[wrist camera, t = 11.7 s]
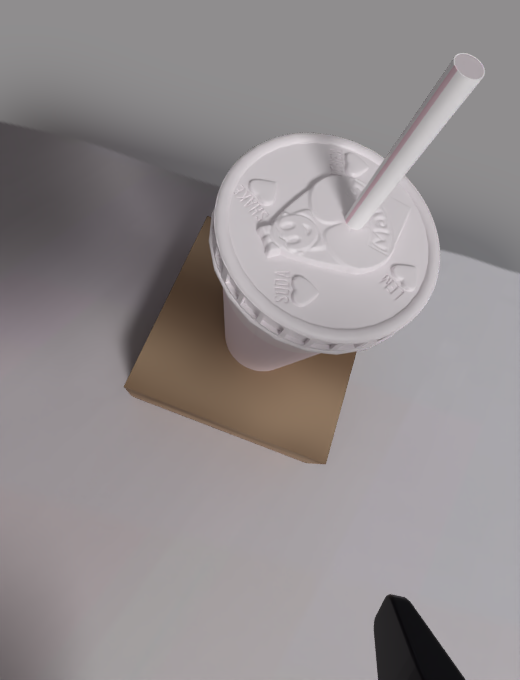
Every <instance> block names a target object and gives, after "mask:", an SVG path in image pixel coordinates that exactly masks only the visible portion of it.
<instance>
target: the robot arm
mask: <svg viewBox="0 0 520 680" xmlns="http://www.w3.org/2000/svg"><path fill="white" fill-rule="evenodd" d="M374 638H375V649H376V661H377V672H378V680H465V678H464V677H463V675H462V674H461V673H460V671H459V670H458V668H457V667H456V666H455V664H454V663H453V661H452V660H451V659H450V657H449V656H448V654H447V653H446V652H445V650H444V649H443V647H442V646H441V644H440V643H439V642H438V640H437V639H436V637H435V636H434V635H433V633H432V632H431V630H430V629H429V628H428V626H427V625H426V623H425V622H424V620H423V619H422V618H421V616H420V615H419V613H418V612H417V611H416V609H415V608H414V606H413V605H412V604H411V602H410V601H409V600H408V599H407V598H405V597H401V596H396V595H391V594H389V595H387V596H386V597H385V599H384V601H383V603H382V605H381V607H380V609H379V611H378V613H377V615H376V617H375V621H374Z"/></svg>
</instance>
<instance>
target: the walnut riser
mask: <svg viewBox="0 0 520 680" xmlns="http://www.w3.org/2000/svg"><path fill="white" fill-rule="evenodd" d="M210 225H211V217H209V216H207V218H206V220H205V222H204V224H203V226H202V228H201V230H200V232H199V234H198V236H197V238H196V240H195V242H194V244H193V246H192V248H191V251H190V253H189V255H188V257H187V259H186V261H185V263H184V265H183V267H182V269H181V271H180V273H179V275H178V277H177V279H176V281H175V283H174V285H173V287H172V289H171V291H170V293H169V295H168V297H167V299H166V302H165V304H164V306H163V308H162V310H161V312H160V314H159V316H158V318H157V320H156V322H155V324H154V326H153V328H152V330H151V332H150V334H149V336H148V338H147V340H146V342H145V344H144V346H143V348H142V351H141V353H140V355H139V357H138V359H137V361H136V363H135V365H134V367H133V369H132V371H131V373H130V375H129V377H128V379H127V381H126V383H125V385H124V387H125V389H126V390H127V391H128V392H129V393H130V394H131V396H133V397H135V398H138V399H141V400H143V401H146V402H148V403H151V404H154V405H156V406H159V407H161V408H164V409H167V410H169V411H172V412H174V413H177V414H180V415H182V416H185V417H188V418H190V419H193V420H195V421H198V422H201V423H203V424H206V425H208V426H211V427H214V428H216V429H219V430H221V431H224V432H227V433H229V434H232V435H234V436H237V437H240V438H242V439H245V440H248V441H250V442H253V443H255V444H258V445H261V446H263V447H266V448H268V449H271V450H274V451H276V452H279V453H281V454H284V455H287V456H289V457H292V458H294V459H297V460H300V461H302V462H305V463H314V464H326V461H327V458H328V454H329V450H330V447H331V443H332V439H333V436H334V432H335V428H336V425H337V421H338V417H339V414H340V410H341V406H342V403H343V399H344V396H345V392H346V388H347V385H348V381H349V377H350V374H351V370H352V366H353V363H354V359H355V355H356V352H357V351H356V352H350V353H344V354H338V355H335V354H325V353H320V354H317V355H314V356H311V357H309V358H306V359H303V360H300V361H297V362H294V363H291V364H289V365H286V366H283V367H280V368H277V369H274V370H271V371H256V370H252V369H249V368H247V367H245V366H243V365H242V364H240V363H239V362H238V361H237V360H236V359H235V358H234V357H233V356H232V354H231V353H230V351H229V349H228V347H227V344H226V339H225V322H224V301H223V287H222V285H221V283H220V281H219V279H218V277H217V275H216V273H215V271H214V266H213V261H212V256H211V251H210V245H209V234H210Z"/></svg>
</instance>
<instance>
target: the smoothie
mask: <svg viewBox="0 0 520 680" xmlns="http://www.w3.org/2000/svg"><path fill="white" fill-rule="evenodd" d="M484 74H485V70H484V67H483V65H482V63H481V62H480V61H479V60H478V59H477V58H475V57H474V56H472V55H470V54H467V53H459V54H457V55H456V56H455V57H454V59H453V60H452V62H451V63H450V65H449V66H448V67H447V69H446V70H445V72H444V73H443V75H442V76H441V78H440V79H439V80H438V82H437V83H436V85H435V86H434V88H433V89H432V91H431V92H430V94H429V95H428V96H427V98H426V99H425V101H424V102H423V104H422V105H421V107H420V108H419V110H418V111H417V112H416V114H415V115H414V117H413V118H412V120H411V121H410V123H409V124H408V126H407V127H406V128H405V130H404V131H403V133H402V134H401V136H400V137H399V139H398V140H397V142H396V143H395V145H394V146H393V147H392V149H391V150H390V152H389V153H388V155H387V156H386V158H384V157H382V156H381V155H379V154H377V153H376V152H374V151H373V150H371V149H369V148H367V147H365V146H363V145H360V144H358V143H356V142H354V141H351V140H348V139H345V138H341V137H338V136H334V135H328V134H321V133H293V134H287V135H282V136H278V137H275V138H272V139H270V140H267V141H264V142H262V143H260V144H258V145H256V146H255V147H253V148H252V149H250V150H249V151H247V152H246V153H245V154H244V155H243V156H241V157H240V158H239V159H238V160H237V162H235V163H234V164H233V166H232V167H231V169H230V170H229V171H228V173H227V174H226V177H225V178H224V180H223V182H222V184H221V186H220V189H219V192H218V195H217V199H216V204H215V208H214V210H213V212H212V215H211V225H210V234H209V245H210V251H211V256H212V261H213V266H214V271H215V273H216V275H217V277H218V279H219V281H220V283H221V285H222V287H223V301H224V322H225V339H226V344H227V347H228V349H229V351H230V353H231V354H232V356H233V357H234V358H235V359H236V360H237V361H238V362H239V363H240V364H242V365H243V366H245V367H247V368H249V369H252V370H256V371H271V370H274V369H277V368H280V367H283V366H286V365H289V364H291V363H294V362H297V361H300V360H303V359H306V358H309V357H311V356H314V355H317V354H320V353H325V354H335V355H338V354H344V353H350V352H356V351H362V350H366V349H368V348H370V347H372V346H374V345H376V344H378V343H380V342H382V341H384V340H386V339H388V338H390V337H391V336H392V335H393V334H394V333H395V332H396V331H398V330H400V329H401V328H403V327H404V326H406V325H407V324H408V323H410V322H411V321H412V320H413V319H414V318H415V317H416V316H417V315H418V314H419V313H420V312H421V311H422V309H423V308H424V307H425V305H426V304H427V302H428V301H429V299H430V297H431V295H432V293H433V290H434V288H435V285H436V282H437V278H438V274H439V268H440V246H439V239H438V234H437V230H436V227H435V224H434V221H433V218H432V216H431V213H430V211H429V208H428V207H427V205H426V203H425V202H424V200H423V198H422V197H421V195H420V194H419V192H418V190H417V189H416V188H415V187H414V185H413V184H412V183H411V182H410V181H409V180H408V178H407V177H406V176H405V174H406V173H407V172H408V170H409V169H410V168H411V167H412V165H413V164H414V163H415V162H416V160H417V159H418V158H419V157H420V155H421V154H422V153H423V152H424V150H425V149H426V148H427V147H428V145H429V144H430V143H431V142H432V140H433V139H434V138H435V137H436V135H437V134H438V133H439V132H440V130H441V129H442V128H443V127H444V126H445V124H446V123H447V122H448V120H449V119H450V118H451V117H452V116H453V114H454V113H455V112H456V111H457V109H458V108H459V107H460V106H461V104H462V103H463V102H464V100H465V99H466V98H467V97H468V95H469V94H470V93H471V92H472V91H473V89H474V88H475V87H476V86H477V84H478V83H479V82H480V81H481V79H482V78H483V77H484Z"/></svg>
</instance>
